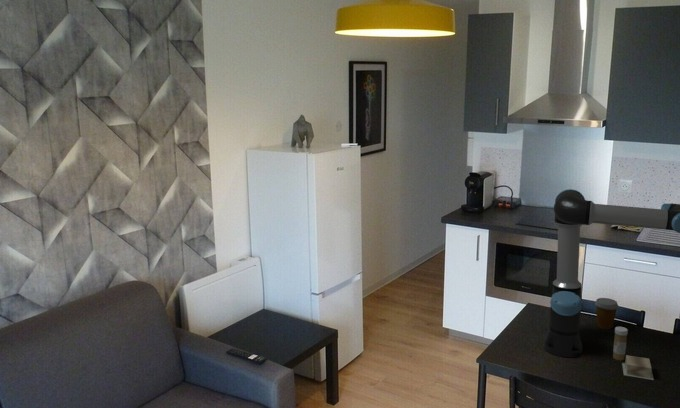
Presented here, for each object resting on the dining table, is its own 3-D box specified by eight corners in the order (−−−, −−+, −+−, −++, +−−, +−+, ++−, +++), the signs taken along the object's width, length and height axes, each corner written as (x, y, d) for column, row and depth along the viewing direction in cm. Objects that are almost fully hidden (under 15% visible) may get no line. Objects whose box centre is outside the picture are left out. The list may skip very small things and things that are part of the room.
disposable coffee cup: (620, 330, 254) (622, 305, 251) (598, 330, 254) (600, 305, 251) (610, 321, 263) (612, 297, 260) (589, 322, 263) (591, 297, 260)
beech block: (626, 374, 215) (627, 364, 214) (625, 364, 223) (626, 355, 222) (650, 378, 212) (651, 368, 211) (648, 368, 220) (649, 358, 219)
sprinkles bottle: (612, 356, 231) (615, 325, 228) (624, 358, 229) (628, 327, 226) (612, 361, 227) (615, 329, 224) (624, 363, 225) (627, 331, 222)
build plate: (623, 376, 215) (623, 375, 215) (621, 364, 224) (622, 362, 224) (653, 381, 211) (653, 379, 211) (650, 369, 220) (650, 367, 220)
